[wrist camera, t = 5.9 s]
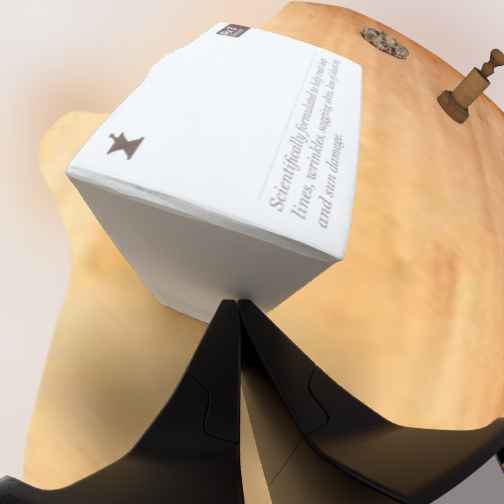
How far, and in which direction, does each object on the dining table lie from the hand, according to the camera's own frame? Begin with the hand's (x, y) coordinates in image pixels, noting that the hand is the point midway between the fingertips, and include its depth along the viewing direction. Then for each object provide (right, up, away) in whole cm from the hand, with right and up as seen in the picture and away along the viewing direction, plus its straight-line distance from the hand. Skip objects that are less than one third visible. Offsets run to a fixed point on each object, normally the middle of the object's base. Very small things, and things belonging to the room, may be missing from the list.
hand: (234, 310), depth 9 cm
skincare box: (-2, +1, +11) cm, 11 cm away
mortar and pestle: (+37, +28, +27) cm, 54 cm away
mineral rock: (+27, +43, +31) cm, 59 cm away
